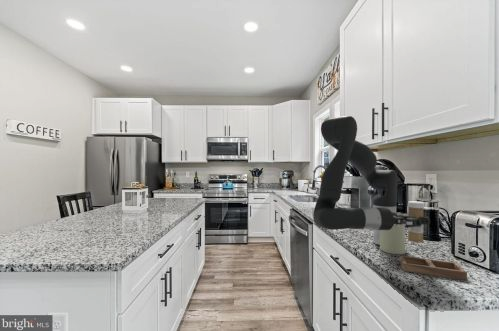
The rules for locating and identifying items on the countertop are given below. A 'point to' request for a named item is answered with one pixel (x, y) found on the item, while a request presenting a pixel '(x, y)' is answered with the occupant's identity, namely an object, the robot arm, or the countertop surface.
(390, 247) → the can
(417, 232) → the sprinkles bottle
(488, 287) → the countertop surface
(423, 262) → the holder
